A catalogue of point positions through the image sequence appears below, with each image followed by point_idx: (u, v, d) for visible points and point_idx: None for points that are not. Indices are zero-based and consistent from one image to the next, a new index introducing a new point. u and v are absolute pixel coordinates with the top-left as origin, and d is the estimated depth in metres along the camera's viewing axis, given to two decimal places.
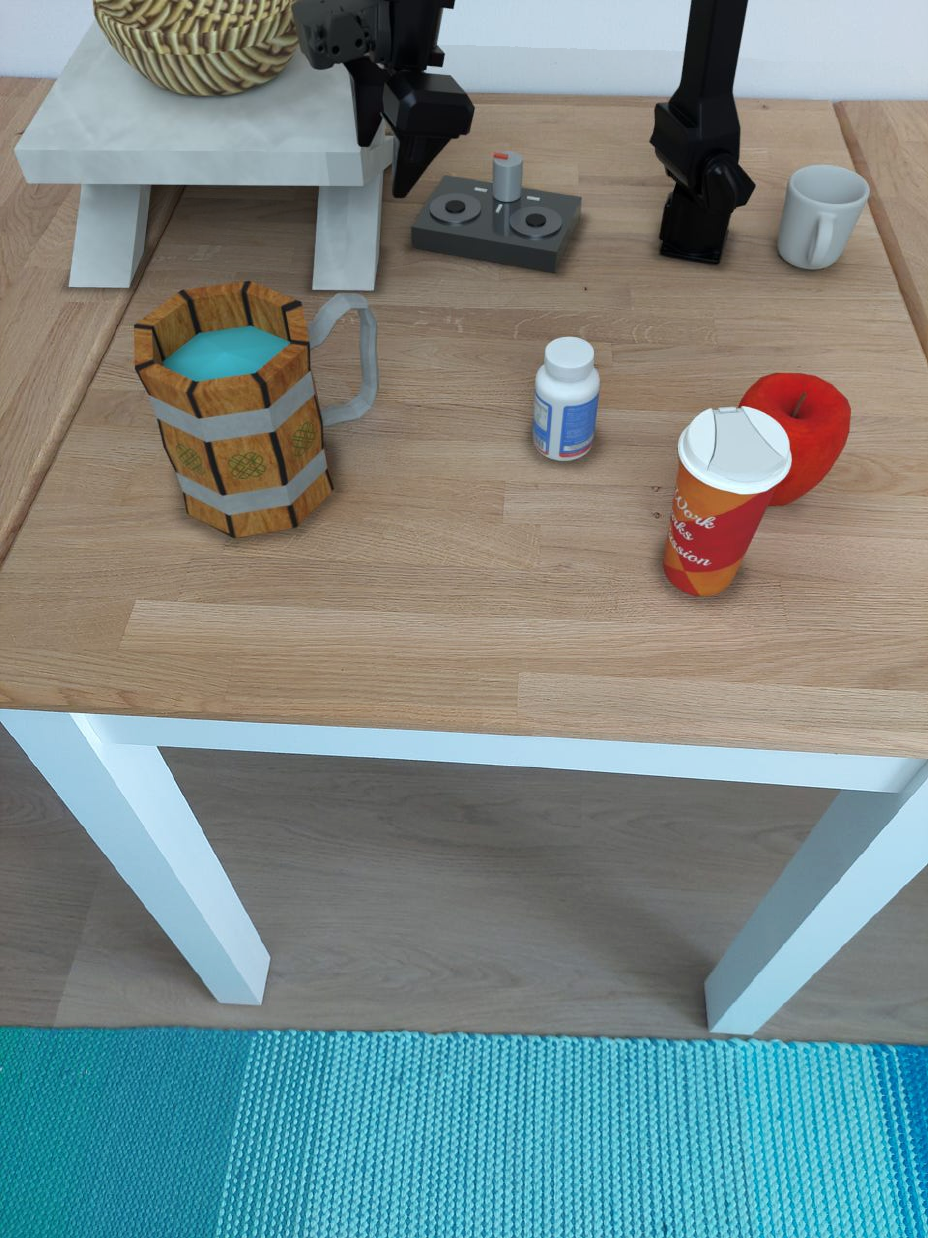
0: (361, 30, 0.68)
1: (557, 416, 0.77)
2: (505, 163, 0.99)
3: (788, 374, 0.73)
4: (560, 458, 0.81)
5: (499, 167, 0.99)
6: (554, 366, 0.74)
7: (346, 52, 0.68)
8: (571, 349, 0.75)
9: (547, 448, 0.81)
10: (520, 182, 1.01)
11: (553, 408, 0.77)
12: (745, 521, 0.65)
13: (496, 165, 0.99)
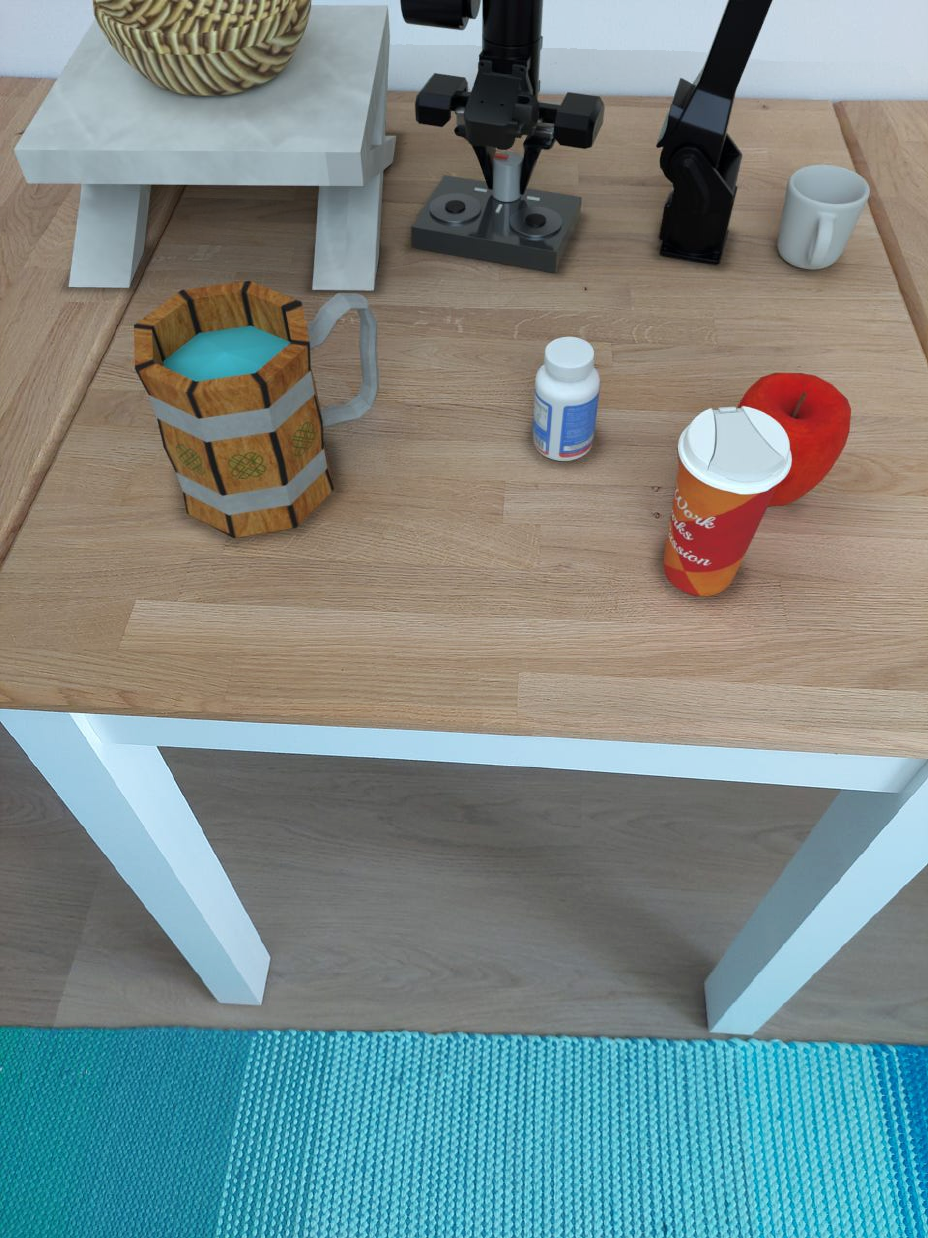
0: (538, 102, 0.89)
1: (557, 416, 0.77)
2: (505, 163, 0.99)
3: (788, 374, 0.73)
4: (560, 458, 0.81)
5: (499, 167, 0.99)
6: (554, 366, 0.74)
7: (535, 123, 0.89)
8: (571, 349, 0.75)
9: (547, 448, 0.81)
10: None
11: (553, 408, 0.77)
12: (745, 521, 0.65)
13: (496, 165, 0.99)
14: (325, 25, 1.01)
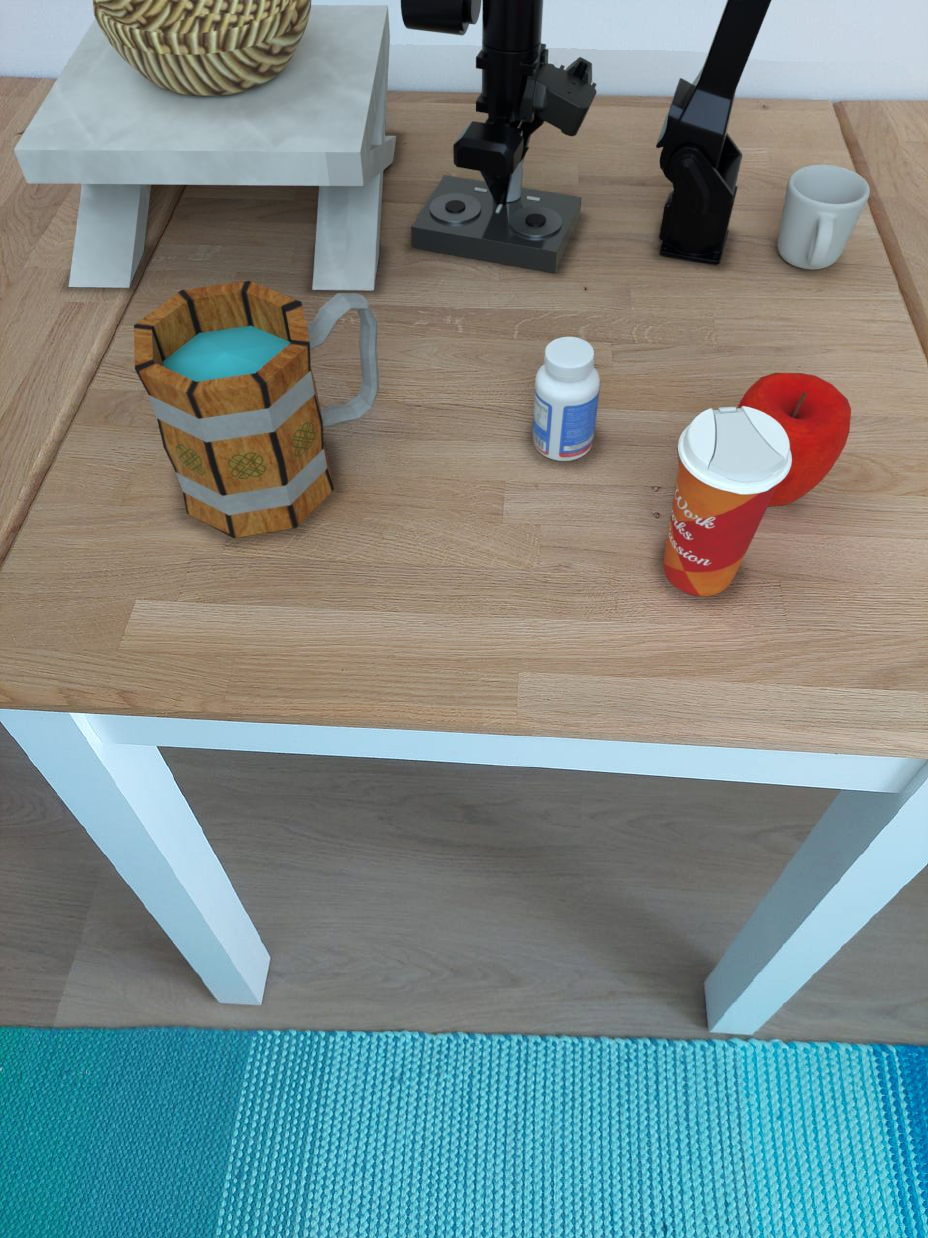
0: (569, 66, 0.94)
1: (557, 416, 0.77)
2: None
3: (788, 374, 0.73)
4: (560, 458, 0.81)
5: (520, 165, 0.99)
6: (554, 366, 0.74)
7: None
8: (571, 349, 0.75)
9: (547, 448, 0.81)
10: None
11: (553, 408, 0.77)
12: (745, 521, 0.65)
13: (517, 166, 0.99)
14: (325, 25, 1.01)
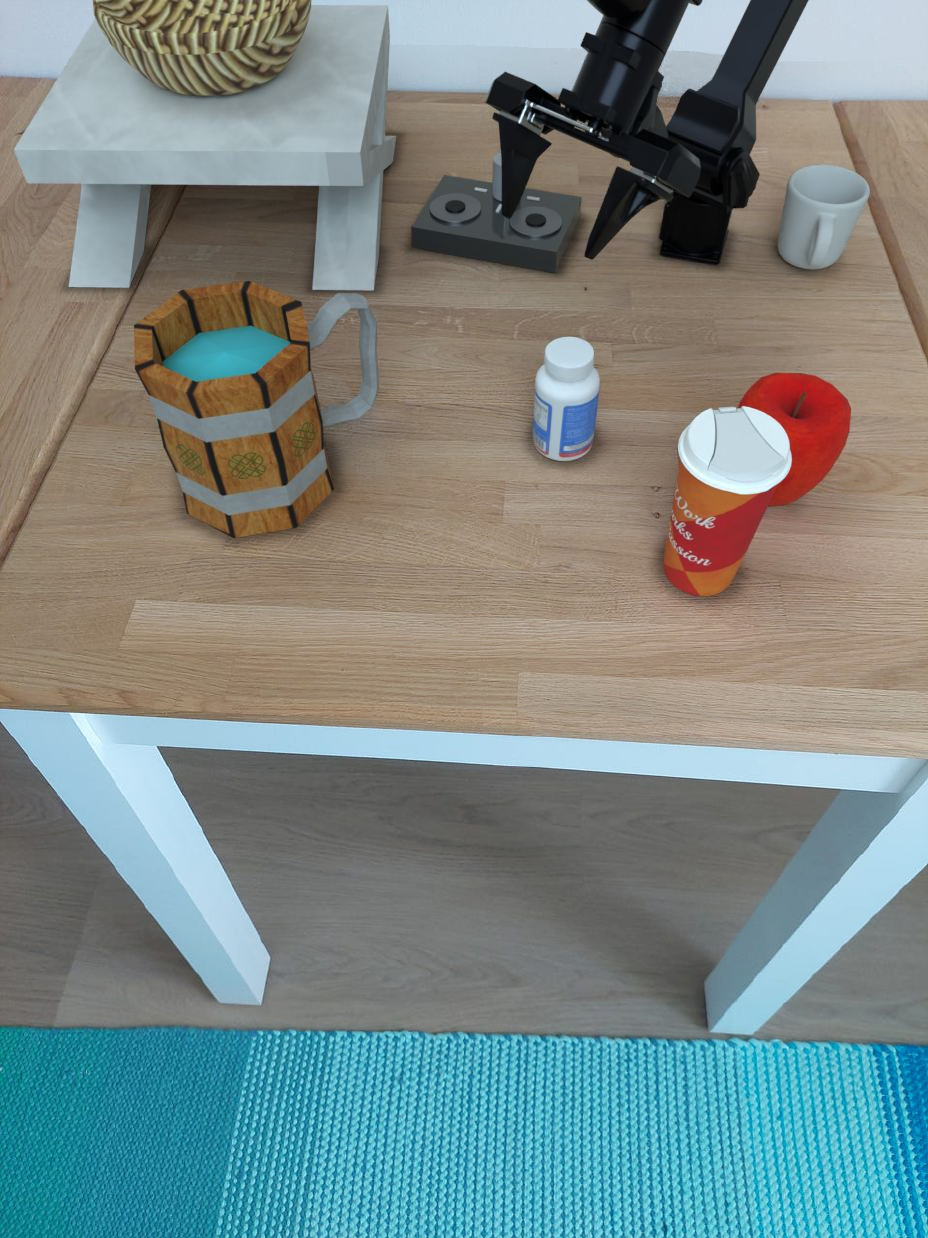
0: None
1: (557, 416, 0.77)
2: None
3: (788, 374, 0.73)
4: (560, 458, 0.81)
5: None
6: (554, 366, 0.74)
7: None
8: (571, 349, 0.75)
9: (547, 448, 0.81)
10: None
11: (553, 408, 0.77)
12: (745, 521, 0.65)
13: None
14: (325, 25, 1.01)
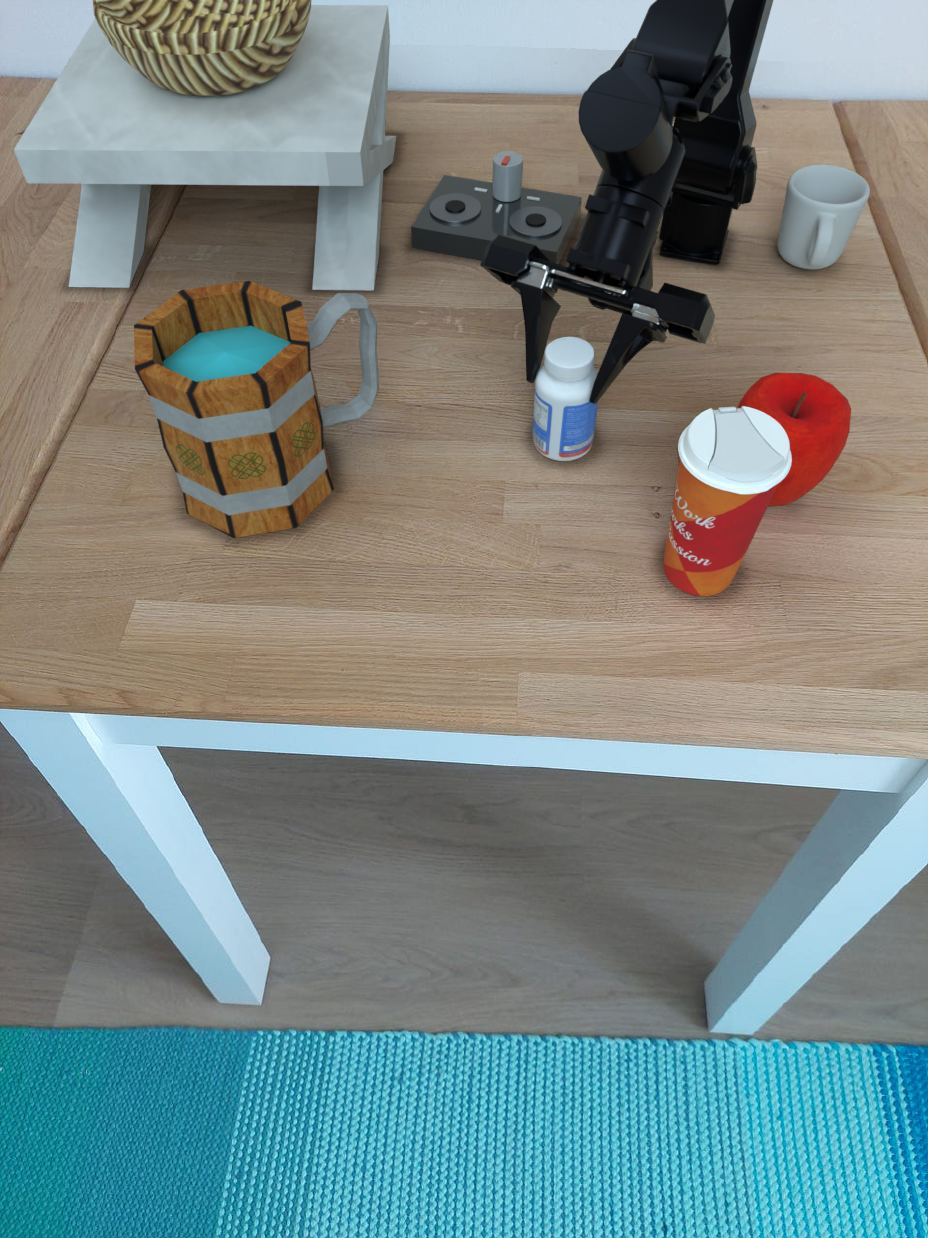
0: None
1: (557, 416, 0.77)
2: (518, 159, 0.99)
3: (788, 374, 0.73)
4: (560, 458, 0.81)
5: (520, 165, 0.99)
6: (554, 366, 0.74)
7: None
8: (571, 349, 0.75)
9: (547, 448, 0.81)
10: None
11: (553, 408, 0.77)
12: (745, 521, 0.65)
13: (517, 166, 0.99)
14: (325, 25, 1.01)
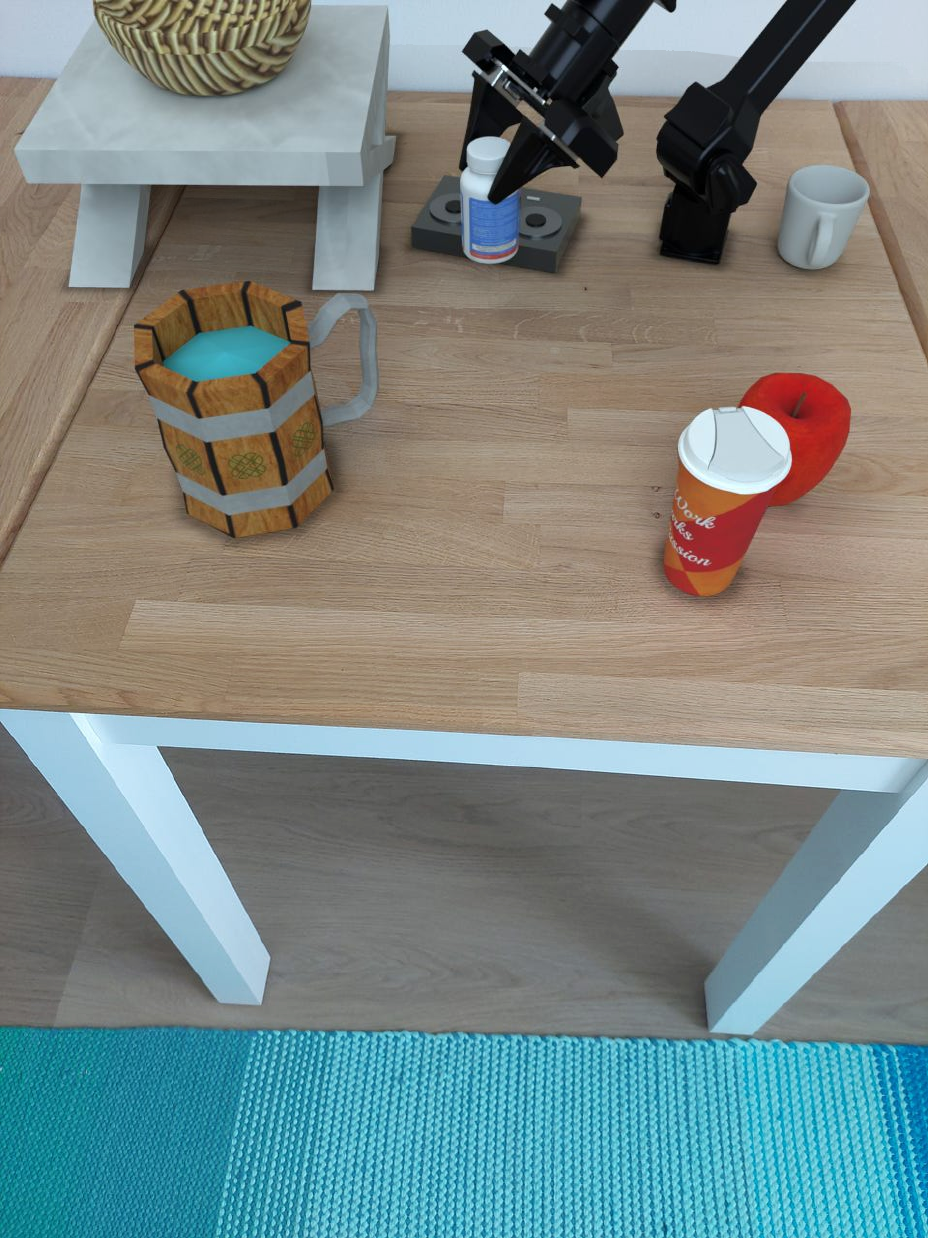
0: None
1: (465, 207, 0.84)
2: None
3: (788, 374, 0.73)
4: (470, 256, 0.87)
5: None
6: (467, 154, 0.81)
7: None
8: (492, 146, 0.81)
9: (463, 243, 0.87)
10: None
11: (463, 197, 0.84)
12: (745, 521, 0.65)
13: None
14: (325, 25, 1.01)
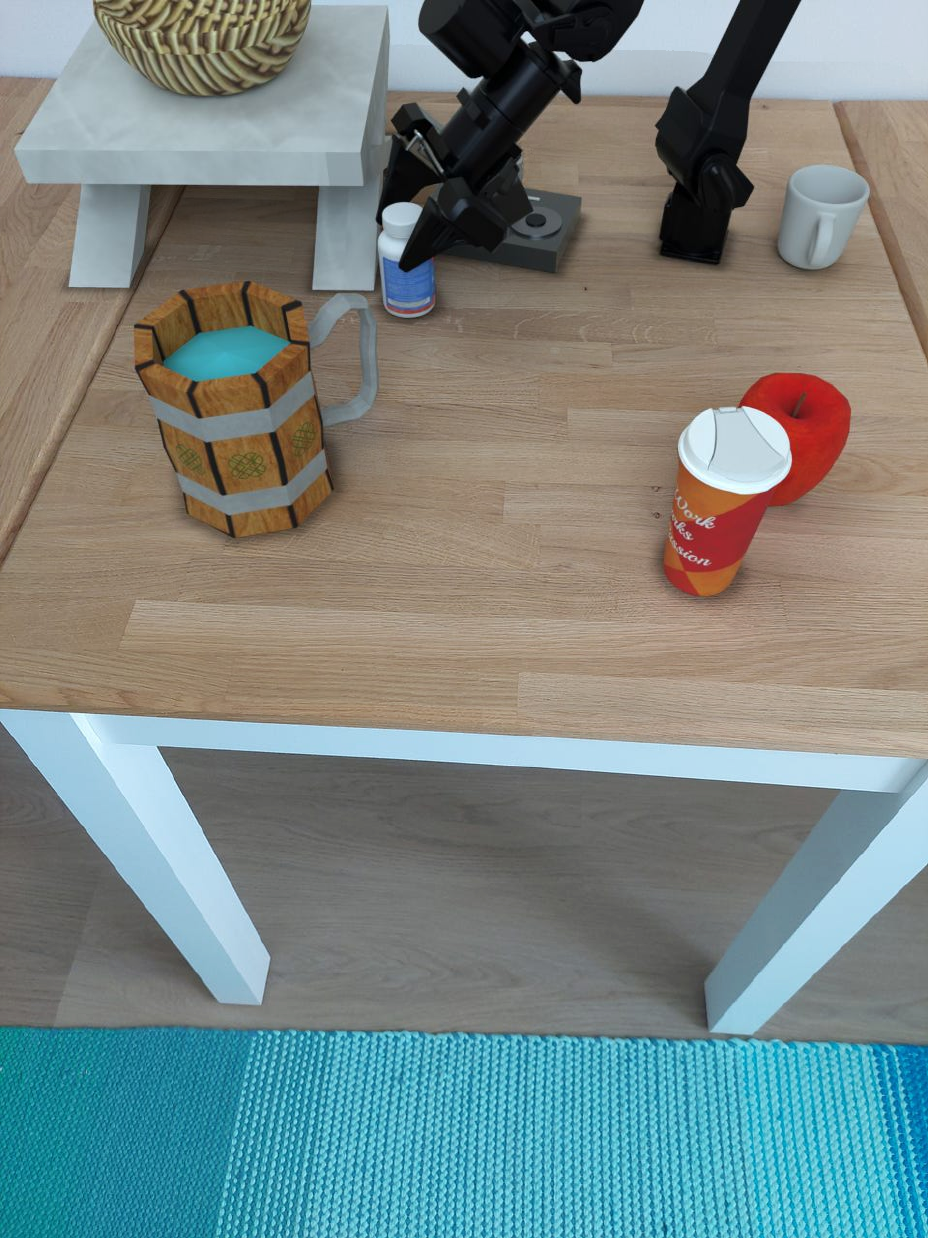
0: None
1: (381, 264, 0.90)
2: None
3: (788, 374, 0.73)
4: (387, 309, 0.94)
5: (520, 165, 0.99)
6: (382, 217, 0.87)
7: None
8: (406, 212, 0.87)
9: (382, 296, 0.94)
10: None
11: (379, 255, 0.90)
12: (745, 521, 0.65)
13: None
14: (325, 25, 1.01)
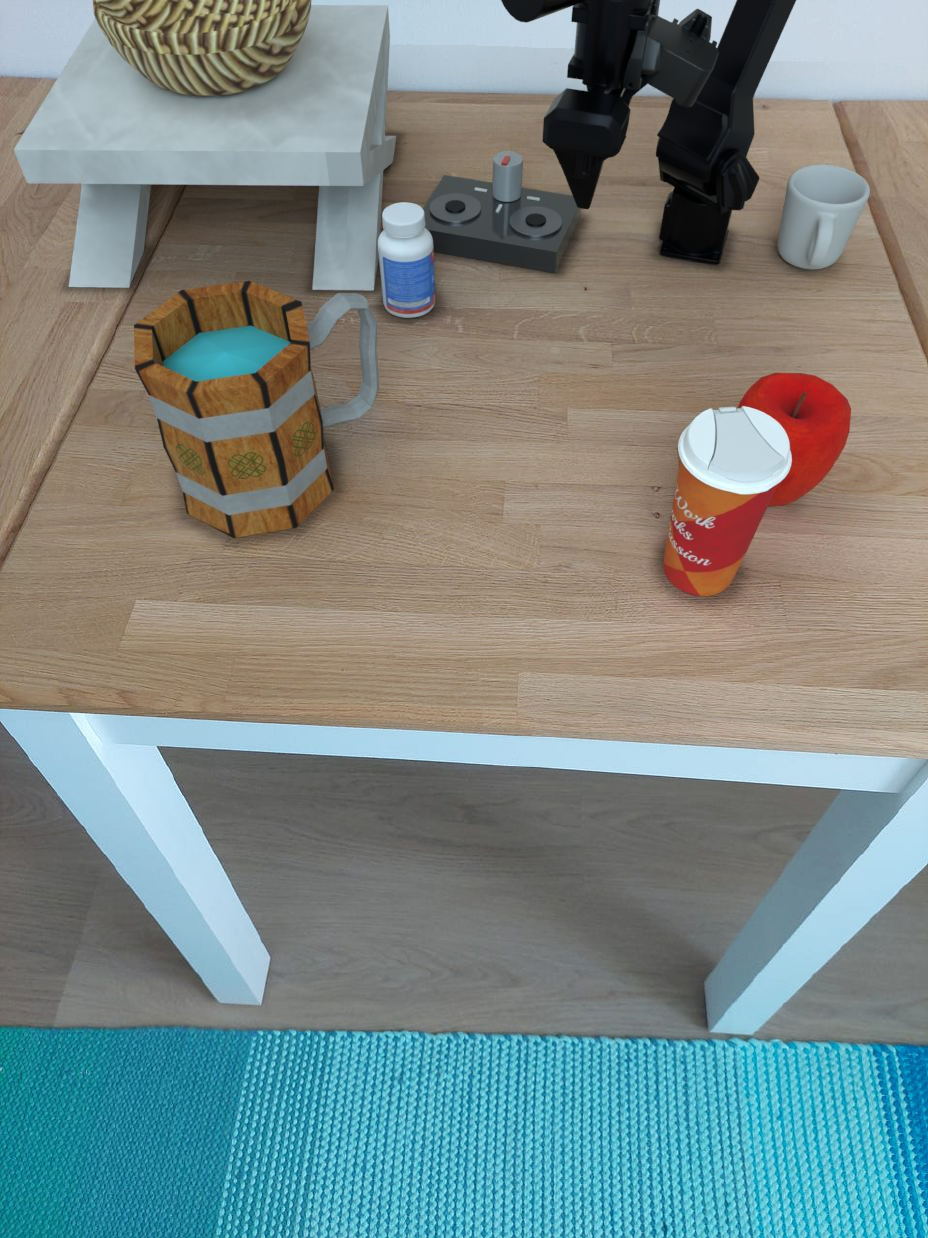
0: (682, 21, 0.76)
1: (381, 264, 0.90)
2: (518, 159, 0.99)
3: (788, 374, 0.73)
4: (387, 309, 0.94)
5: (520, 165, 0.99)
6: (382, 217, 0.87)
7: None
8: (406, 212, 0.87)
9: (382, 296, 0.94)
10: None
11: (379, 255, 0.90)
12: (745, 521, 0.65)
13: (517, 166, 0.99)
14: (325, 25, 1.01)
